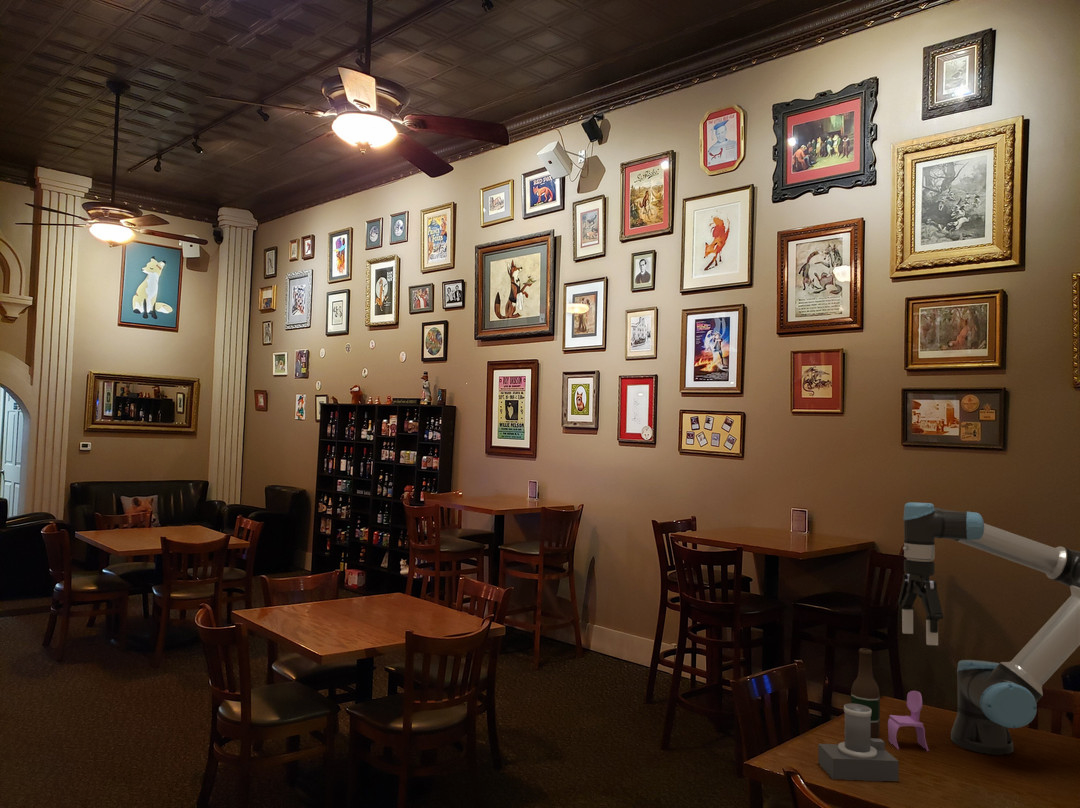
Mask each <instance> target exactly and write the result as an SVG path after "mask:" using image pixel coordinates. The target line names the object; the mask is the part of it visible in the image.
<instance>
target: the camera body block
mask: <svg viewBox="0 0 1080 808" xmlns="http://www.w3.org/2000/svg"><path fill="white" fill-rule="evenodd" d="M885 743H886V742H885V741H884V740H883V739H882V738H871V745H870V752H865V753H862V752H855V751H851V750H849V749H847V748H845V741H842V742H839V743H838V744H837V743H835V744H834V743H833V744H832V743H818V747H817V748H818V752H817V753H818V756H817V757H818V758H817V759H818V763H819V764H820V765H821V766H820V765H819V764H818V763H817V764H818V765H819V766H820V767H821V769H823V771H826V772H827V773H828V774H829V775H828V774H827V773H826V774H827V775H828V776H829V777H830V778H831V779H832V780H833V779H844V780H843V781H854V780H862V781H863V780H864V781H863V782H882V781H899V776H900V775H899V769H900V768H899V762H900V761H899V760H898V759H897V758H896V757H895V756H894V755H892V754H891V753H889V752H888V751H887V750H886V749H885V746H886V745H885ZM845 779H846V780H845ZM862 781H861V782H862Z"/></svg>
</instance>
